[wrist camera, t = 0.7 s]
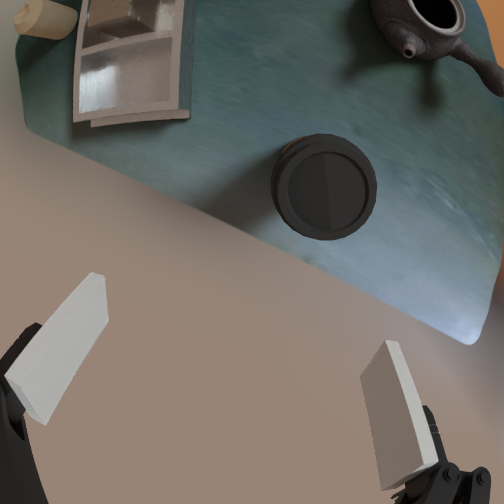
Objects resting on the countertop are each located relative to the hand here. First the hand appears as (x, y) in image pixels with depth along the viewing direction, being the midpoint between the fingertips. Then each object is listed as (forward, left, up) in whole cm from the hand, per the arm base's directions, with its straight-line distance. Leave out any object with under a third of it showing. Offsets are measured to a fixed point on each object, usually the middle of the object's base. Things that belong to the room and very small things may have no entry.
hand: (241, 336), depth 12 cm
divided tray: (-19, -16, -26) cm, 36 cm away
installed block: (-23, -16, -25) cm, 37 cm away
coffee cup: (-4, +5, -26) cm, 27 cm away
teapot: (-23, +20, -26) cm, 40 cm away
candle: (-27, -30, -26) cm, 48 cm away
